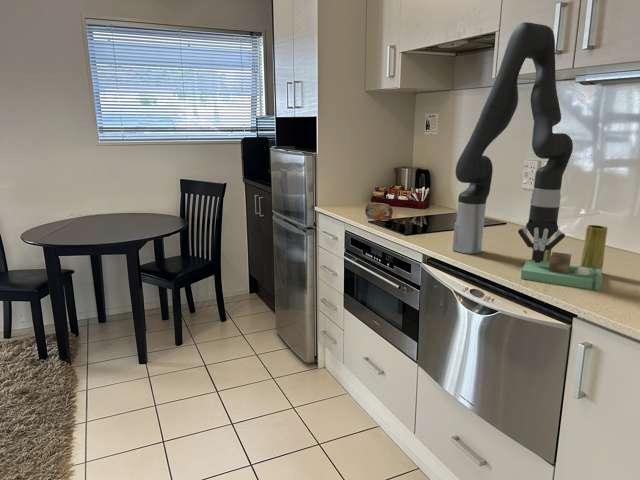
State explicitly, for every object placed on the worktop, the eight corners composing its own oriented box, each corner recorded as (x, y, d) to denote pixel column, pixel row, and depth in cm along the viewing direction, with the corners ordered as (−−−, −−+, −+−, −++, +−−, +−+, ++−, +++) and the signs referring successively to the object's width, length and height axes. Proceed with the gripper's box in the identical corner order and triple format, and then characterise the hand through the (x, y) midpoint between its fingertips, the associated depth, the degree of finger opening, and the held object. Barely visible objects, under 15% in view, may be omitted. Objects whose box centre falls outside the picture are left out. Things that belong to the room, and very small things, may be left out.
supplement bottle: (544, 262, 153) (547, 233, 151) (552, 267, 148) (556, 237, 145) (527, 262, 153) (531, 233, 150) (535, 267, 147) (539, 237, 145)
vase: (580, 274, 141) (587, 227, 138) (577, 269, 146) (584, 224, 143) (603, 276, 139) (611, 229, 136) (599, 271, 144) (607, 225, 141)
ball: (593, 273, 130) (581, 283, 132) (593, 275, 134) (582, 284, 135) (581, 263, 132) (570, 273, 133) (582, 265, 136) (571, 274, 137)
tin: (364, 218, 226) (365, 201, 224) (369, 217, 228) (369, 200, 226) (389, 223, 215) (389, 205, 213) (393, 222, 217) (394, 204, 215)
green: (520, 278, 136) (521, 270, 135) (526, 267, 148) (527, 259, 147) (600, 290, 126) (602, 281, 126) (600, 277, 138) (601, 269, 137)
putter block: (548, 271, 135) (550, 257, 134) (550, 264, 141) (552, 251, 140) (568, 274, 132) (570, 260, 131) (569, 267, 139) (571, 254, 138)
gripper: (571, 204, 136) (562, 262, 140) (521, 200, 142) (515, 256, 146) (570, 208, 129) (561, 268, 133) (518, 203, 135) (511, 261, 139)
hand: (537, 262), depth 139 cm, fingers closed
